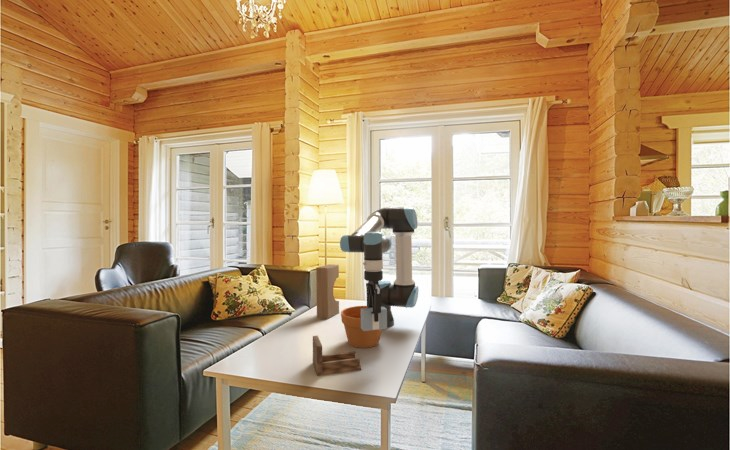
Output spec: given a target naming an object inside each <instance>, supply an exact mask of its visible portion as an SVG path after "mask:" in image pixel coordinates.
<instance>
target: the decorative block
mask: <svg viewBox="0 0 730 450" xmlns="http://www.w3.org/2000/svg"><path fill="white" fill-rule="evenodd" d="M339 269H340V266H339V264H326V265H321V266H317V267H316V268H315V270H316V275H315V276H316V319H319V318H320V319H321V320H328V319H330V318H332V317H333V316H336V315H338V314H339V313H340V301H339V300H336V298H335V296H334V286H335V283H336V280H337V279H338V278H340V277H339V276H340V274H339V271H340V270H339Z"/></svg>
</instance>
